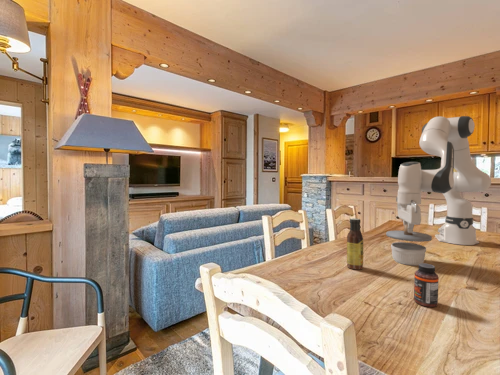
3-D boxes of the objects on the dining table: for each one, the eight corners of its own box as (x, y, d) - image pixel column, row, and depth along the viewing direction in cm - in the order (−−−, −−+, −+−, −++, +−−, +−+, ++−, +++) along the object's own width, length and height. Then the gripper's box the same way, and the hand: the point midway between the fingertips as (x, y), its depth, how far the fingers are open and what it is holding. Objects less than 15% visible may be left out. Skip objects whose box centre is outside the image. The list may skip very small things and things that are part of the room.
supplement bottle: (409, 298, 83) (410, 262, 82) (427, 298, 83) (428, 261, 83) (423, 308, 77) (424, 269, 76) (442, 307, 77) (444, 268, 77)
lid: (382, 231, 128) (382, 221, 128) (423, 233, 124) (423, 222, 124) (391, 240, 112) (391, 228, 112) (438, 242, 107) (438, 230, 107)
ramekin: (413, 268, 109) (413, 251, 109) (383, 259, 121) (384, 244, 121) (432, 263, 116) (432, 247, 115) (402, 255, 127) (403, 240, 127)
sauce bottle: (364, 270, 107) (365, 220, 106) (347, 269, 108) (348, 220, 107) (361, 265, 113) (362, 218, 113) (345, 264, 115) (346, 217, 114)
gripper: (426, 202, 106) (425, 237, 107) (410, 197, 126) (409, 227, 127) (408, 201, 108) (407, 236, 109) (395, 197, 128) (394, 226, 128)
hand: (408, 231), depth 118 cm, fingers closed on lid, 3 cm apart
